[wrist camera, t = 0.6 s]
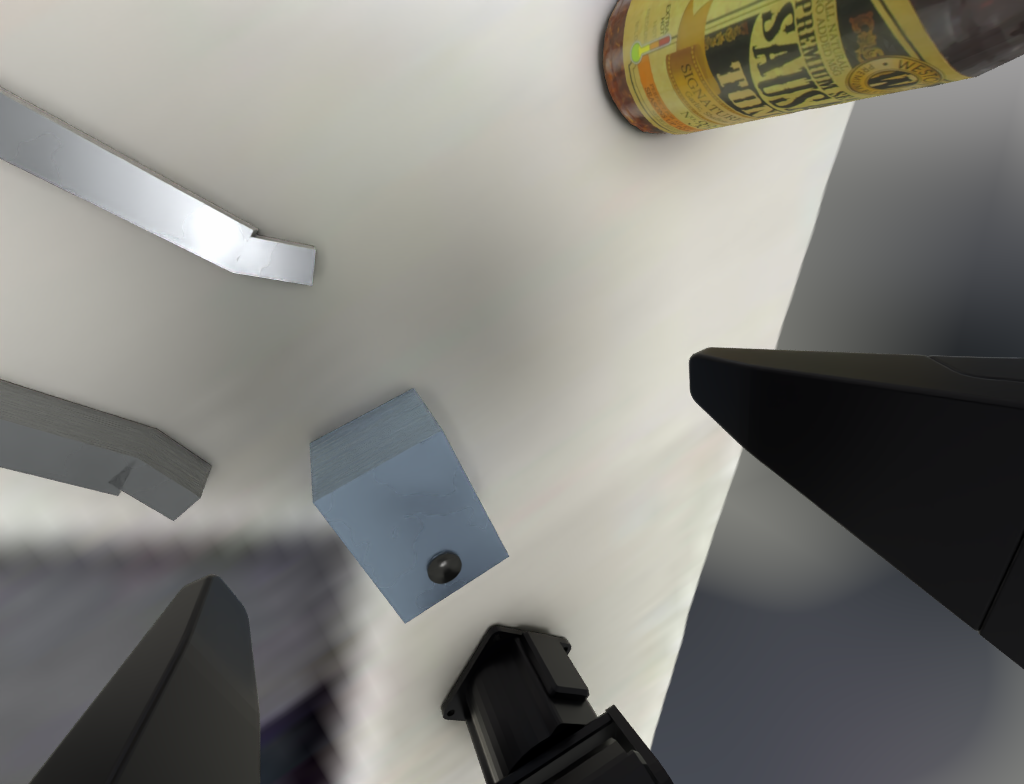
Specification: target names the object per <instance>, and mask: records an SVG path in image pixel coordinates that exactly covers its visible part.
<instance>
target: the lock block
mask: <svg viewBox="0 0 1024 784" xmlns="http://www.w3.org/2000/svg"><path fill="white" fill-rule="evenodd" d="M310 457H311V475H312V493H313V503H314V505H315V506H316V507H317V508H318V510H319V511H320V512H321V514H322V515H323V516H324V518H325V519H326V520H327V522H328V523H329V524H330V526H331V527H332V528H333V529H334V531H335V532H336V533H337V535H338V536H339V537H340V539H341V540H342V541H343V543H344V544H345V545H346V547H347V548H348V549H349V550H350V552H351V553H352V554H353V556H354V557H355V558H356V560H357V561H358V562H359V564H360V565H361V566H362V568H363V569H364V570H365V572H366V573H367V574H368V575H369V577H370V578H371V579H372V581H373V582H374V583H375V585H376V586H377V587H378V589H379V590H380V591H381V593H382V594H383V595H384V596H385V598H386V599H387V600H388V602H389V603H390V604H391V606H392V607H393V608H394V610H395V611H396V612H397V614H398V615H399V616H400V617H401V619H402V620H403V621H404V623H407V622H408V621H410V620H412V619H413V618H415V617H416V616H418V615H419V614H421V613H422V612H424V611H425V610H427V609H429V608H430V607H432V606H433V605H435V604H436V603H438V602H439V601H441V600H442V599H444V598H446V597H447V596H449V595H450V594H452V593H453V592H455V591H456V590H458V589H459V588H461V587H463V586H464V585H466V584H467V583H469V582H470V581H472V580H473V579H475V578H477V577H478V576H480V575H481V574H483V573H484V572H486V571H487V570H489V569H490V568H492V567H494V566H495V565H497V564H498V563H500V562H501V561H503V560H504V559H506V558H507V557H509V555H508V553H507V551H506V549H505V547H504V546H503V544H502V542H501V540H500V538H499V536H498V534H497V532H496V530H495V529H494V527H493V525H492V523H491V521H490V519H489V517H488V515H487V513H486V512H485V510H484V508H483V506H482V504H481V502H480V500H479V498H478V497H477V495H476V493H475V491H474V489H473V487H472V485H471V483H470V481H469V480H468V478H467V476H466V474H465V472H464V470H463V468H462V466H461V464H460V463H459V461H458V459H457V457H456V455H455V453H454V451H453V449H452V447H451V446H450V444H449V442H448V440H447V438H446V436H445V434H444V432H443V431H442V429H441V427H440V426H439V425H438V423H437V422H436V420H435V419H434V417H433V416H432V414H431V413H430V411H429V410H428V408H427V407H426V405H425V404H424V402H423V401H422V399H421V398H420V396H419V395H418V394H417V392H416V391H415V389H414V388H413V389H411V390H409V391H407V392H405V393H403V394H401V395H400V396H398V397H396V398H394V399H392V400H390V401H388V402H386V403H384V404H383V405H381V406H379V407H377V408H375V409H373V410H371V411H369V412H368V413H366V414H364V415H362V416H360V417H358V418H356V419H354V420H353V421H351V422H349V423H347V424H345V425H343V426H341V427H339V428H337V429H336V430H334V431H332V432H330V433H328V434H326V435H324V436H322V437H321V438H319V439H317V440H315V441H313V442H311V443H310Z"/></svg>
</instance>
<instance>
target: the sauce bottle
mask: <svg viewBox="0 0 1024 784" xmlns="http://www.w3.org/2000/svg"><path fill="white" fill-rule="evenodd" d="M1023 54H1024V0H618V1H617V4H616V6H615V8H614V10H613V12H612V14H611V16H610V18H609V21H608V27H607V30H606V32H605V39H604V48H603V69H604V73H605V80H606V83H607V86H608V90H609V93H610V95H611V97H612V99H613V101H614V102H615V104H616V105H617V107H618V109H619V110H620V112H621V113H622V115H623V116H624V117H625V118H626V119H627V120H628V121H629V123H630V124H631V125H633V126H637V128H638V129H640V130H641V131H642V132H649V133H671V134H688V133H693V132H698V131H703V130H708V129H713V128H718V127H724V126H729V125H734V124H739V123H744V122H749V121H754V120H759V119H764V118H769V117H775V116H780V115H785V114H791V113H795V112H798V111H803V110H808V109H815V108H821V107H826V106H831V105H837V104H842V103H847V102H851V101H855V100H860V99H865V98H870V97H875V96H880V95H886V94H891V93H895V92H901V91H907V90H912V89H917V88H923V87H931V86H936V85H940V84H944V83H949V82H954V81H958V80H963V79H968V78H972V77H977V76H979V75H981V74H983V73H985V72H987V71H989V70H992V69H994V68H996V67H998V66H1000V65H1002V64H1004V63H1006V62H1009V61H1010V60H1013V59H1015V58H1017V57H1019V56H1021V55H1023Z"/></svg>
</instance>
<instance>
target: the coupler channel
mask: <svg viewBox="0 0 1024 784" xmlns="http://www.w3.org/2000/svg"><path fill="white" fill-rule="evenodd" d="M0 158H1V159H3V160H5V161H7V162H9V163H11V164H13V165H15V166H17V167H19V168H21V169H23V170H25V171H27V172H29V173H31V174H33V175H35V176H37V177H39V178H41V179H43V180H45V181H47V182H49V183H51V184H53V185H55V186H57V187H59V188H61V189H64V190H66V191H68V192H70V193H72V194H74V195H76V196H78V197H80V198H82V199H84V200H86V201H88V202H90V203H92V204H94V205H96V206H98V207H100V208H102V209H104V210H106V211H108V212H110V213H112V214H114V215H116V216H118V217H120V218H122V219H124V220H126V221H128V222H131V223H133V224H135V225H137V226H139V227H141V228H143V229H145V230H147V231H149V232H151V233H153V234H155V235H157V236H159V237H161V238H163V239H165V240H167V241H169V242H171V243H173V244H175V245H177V246H179V247H181V248H183V249H185V250H187V251H189V252H191V253H193V254H196V255H198V256H200V257H202V258H204V259H206V260H208V261H210V262H212V263H214V264H216V265H218V266H220V267H222V268H224V269H226V270H228V271H230V272H231V273H237V274H243V275H249V276H255V277H261V278H267V279H274V280H280V281H286V282H292V283H298V284H304V285H310V286H312V284H313V274H314V264H315V254H316V249H315V247H314V246H311V245H306V244H301V243H296V242H291V241H286V240H281V239H276V238H271V237H266V236H261V235H256V234H257V232H258V230H259V229H258V228H256V227H255V226H253V225H251V224H249V223H247V222H246V221H244V220H242V219H240V218H238V217H236V216H235V215H233V214H231V213H229V212H227V211H226V210H224V209H222V208H220V207H218V206H216V205H215V204H213V203H211V202H209V201H207V200H206V199H204V198H202V197H200V196H198V195H196V194H195V193H193V192H191V191H189V190H187V189H186V188H184V187H182V186H180V185H178V184H176V183H175V182H173V181H171V180H169V179H167V178H166V177H164V176H162V175H160V174H158V173H156V172H155V171H153V170H151V169H149V168H147V167H145V166H144V165H142V164H140V163H138V162H136V161H135V160H133V159H131V158H129V157H127V156H125V155H124V154H122V153H120V152H118V151H116V150H115V149H113V148H111V147H109V146H107V145H105V144H104V143H102V142H100V141H98V140H96V139H95V138H93V137H91V136H89V135H87V134H85V133H84V132H82V131H80V130H78V129H76V128H75V127H73V126H71V125H69V124H67V123H65V122H64V121H62V120H60V119H58V118H56V117H55V116H53V115H51V114H49V113H47V112H45V111H44V110H42V109H40V108H38V107H36V106H35V105H33V104H31V103H29V102H27V101H25V100H24V99H22V98H20V97H18V96H16V95H15V94H13V93H11V92H9V91H7V90H5V89H4V88H2V87H0ZM0 467H2V468H6V469H10V470H14V471H18V472H22V473H26V474H31V475H35V476H39V477H43V478H47V479H51V480H55V481H59V482H63V483H67V484H71V485H75V486H80V487H84V488H88V489H92V490H96V491H100V492H104V493H108V494H112V495H116V496H119V494H120V492H121V491H123V492H125V493H127V494H128V495H130V496H132V497H134V498H135V499H137V500H139V501H140V502H142V503H144V504H145V505H147V506H149V507H151V508H152V509H154V510H156V511H157V512H159V513H161V514H163V515H164V516H166V517H168V518H169V519H171V520H173V521H174V520H175V519H177V518H178V517H179V516H180V515H181V514H182V513H184V512H185V511H186V510H187V509H188V508H189V507H190V506H192V505H193V504H194V503H195V502H196V501H197V500H198V499H200V498H201V495H202V492H203V489H204V486H205V483H206V480H207V478H208V475H209V472H210V469H211V465H209V464H208V463H206V462H205V461H203V460H202V459H201V458H199V457H198V456H196V455H195V454H193V453H192V452H190V451H189V450H187V449H186V448H184V447H183V446H181V445H180V444H178V443H177V442H176V441H174V440H173V439H171V438H170V437H168V436H167V435H165V434H164V433H162V432H161V431H159V430H158V429H155V428H152V427H149V426H146V425H143V424H139V423H136V422H133V421H130V420H127V419H124V418H120V417H117V416H114V415H111V414H108V413H104V412H101V411H98V410H95V409H92V408H89V407H85V406H82V405H79V404H76V403H73V402H70V401H66V400H63V399H60V398H57V397H54V396H50V395H47V394H44V393H41V392H38V391H35V390H31V389H28V388H25V387H22V386H19V385H16V384H12V383H9V382H6V381H3V380H0Z"/></svg>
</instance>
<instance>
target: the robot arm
mask: <svg viewBox="0 0 1024 784" xmlns="http://www.w3.org/2000/svg"><path fill="white" fill-rule="evenodd" d="M689 379H690V393H691V396H692V398H693V399H694V401H695V402H696V403H697V404H698V405H699V406H700V407H701V408H702V409H703V410H704V411H705V412H706V413H708V414H709V415H710V416H711V417H712V418H713V419H714V420H715V421H716V422H717V423H718V424H719V425H720V426H721V427H722V428H723V429H724V430H725V431H726V432H727V433H728V434H729V435H731V436H732V437H733V438H734V439H735V440H736V441H737V442H738V443H739V444H740V445H741V446H742V447H743V448H745V450H747V451H748V452H749V453H750V454H752V455H753V456H754V457H755V458H756V459H758V460H759V461H760V462H761V463H763V464H764V465H765V466H766V467H768V468H769V469H770V470H771V471H773V472H774V473H775V474H777V475H778V476H779V477H780V478H782V479H783V480H784V481H785V482H787V483H788V484H789V485H791V486H792V487H793V488H794V489H796V490H797V491H798V492H800V493H801V494H802V495H803V496H805V497H806V498H807V499H808V500H810V501H811V502H812V503H814V504H815V505H816V506H817V507H819V508H820V509H821V510H822V511H824V512H825V513H826V514H828V515H829V516H830V517H831V518H833V519H834V520H835V521H837V522H838V523H839V524H840V525H841V526H843V527H844V528H845V529H847V530H848V531H849V532H850V533H852V534H853V535H854V536H855V537H857V538H858V539H859V540H861V541H862V542H863V543H865V544H866V545H867V546H868V547H869V548H871V549H872V550H874V551H875V552H876V553H877V554H878V555H880V556H881V557H882V558H884V559H885V560H886V561H887V562H889V563H890V564H891V565H892V566H894V567H895V568H896V569H897V570H899V571H900V572H901V573H903V574H904V575H905V576H906V577H908V578H909V579H910V580H912V581H913V582H914V583H915V584H917V585H918V586H919V587H921V588H922V589H923V590H924V591H926V592H927V593H928V594H929V595H931V596H932V597H933V598H934V599H936V600H937V601H938V602H940V603H941V604H942V605H943V606H945V607H946V608H947V609H948V610H950V611H951V612H952V613H954V614H955V615H956V616H957V617H959V618H960V619H961V620H962V621H964V622H965V623H966V624H968V625H969V626H970V627H971V628H973V629H974V630H976V631H978V632H979V634H980V635H981V636H982V637H983V638H985V639H986V640H987V641H989V642H990V643H991V644H992V645H994V646H995V647H996V648H997V649H999V650H1000V651H1001V652H1003V653H1004V654H1005V655H1006V656H1008V657H1009V658H1010V659H1011V660H1013V661H1014V662H1015V663H1016V664H1018V665H1019V666H1020V667H1022V668H1023V669H1024V358H994V357H958V356H929V357H927V356H925V355H902V354H876V353H849V352H823V351H795V350H769V349H743V348H716V347H709V348H706V349H704V350H701V351H699V352H697V353H695V354H693V355H692V356H691V357H690V360H689ZM570 650H571V645H570V643H569V642H568V640H567V639H563V638H558V637H555V636H550V635H545V634H540V633H534V632H529V631H522V630H517V629H512V628H507V627H502V626H495V627H492V628H491V629H490V630H489V631H488V633H487V634H486V636H485V637H484V639H483V641H482V642H481V644H480V646H479V647H478V649H477V651H476V652H475V654H474V655H473V657H472V659H471V660H470V662H469V664H468V665H467V667H466V668H465V670H464V672H463V673H462V675H461V677H460V678H459V680H458V682H457V683H456V685H455V686H454V688H453V690H452V691H451V693H450V695H449V696H448V698H447V699H446V701H445V703H444V704H443V706H442V708H441V711H442V715H443V718H444V719H447V720H460V721H466V724H467V727H468V730H469V733H470V736H471V739H472V742H473V745H474V748H475V751H476V754H477V757H478V760H479V763H480V766H481V769H482V772H483V775H484V778H485V781H486V784H673V782H672V780H671V779H670V777H669V775H668V774H667V773H666V771H665V769H664V768H663V767H662V765H661V764H660V762H659V761H658V760H657V758H656V757H655V756H654V755H653V753H652V752H651V751H650V750H649V748H648V747H647V746H646V745H645V743H644V742H643V741H642V739H641V738H640V737H639V736H638V734H637V733H636V732H635V731H634V729H633V728H632V727H631V725H630V724H629V723H628V722H627V720H626V719H625V718H624V717H623V715H622V714H621V713H620V712H619V710H618V709H617V708H616V706H615V705H612V706H611V707H609V708H608V709H606V710H605V711H606V712H605V713H603V714H602V715H600V716H599V717H597V715H596V713H595V712H594V710H593V708H592V707H591V705H590V703H589V702H588V700H587V698H588V696H589V690H588V688H587V686H586V684H585V683H584V681H583V680H582V678H581V676H580V675H579V673H578V671H577V670H576V668H575V667H574V665H573V663H572V662H571V660H570V658H569V657H568V653H569V652H570ZM29 784H260V713H259V702H258V693H257V685H256V676H255V668H254V660H253V652H252V643H251V635H250V627H249V620H248V615H247V613H246V610H245V608H244V606H243V605H242V604H241V602H240V601H239V600H238V599H237V597H236V596H235V595H234V594H233V592H232V591H231V590H230V589H229V587H228V586H227V585H226V584H225V583H224V581H223V580H222V579H221V578H220V577H219V576H217V575H214V574H210V575H207V576H205V577H203V578H201V579H198V580H196V581H194V582H192V583H190V584H187V585H186V586H184V587H183V588H182V589H181V590H180V592H179V593H178V594H177V595H176V597H175V598H174V599H173V600H172V602H171V603H170V604H169V606H168V607H167V608H166V609H165V611H164V612H163V613H162V614H161V616H160V617H159V618H158V620H157V621H156V622H155V623H154V625H153V626H152V627H151V628H150V630H149V631H148V632H147V634H146V635H145V636H144V637H143V639H142V640H141V641H140V642H139V644H138V645H137V646H136V648H135V649H134V650H133V651H132V653H131V654H130V655H129V656H128V658H127V659H126V660H125V662H124V663H123V664H122V665H121V667H120V668H119V669H118V670H117V672H116V673H115V674H114V676H113V677H112V678H111V679H110V681H109V682H108V683H107V684H106V686H105V687H104V688H103V690H102V691H101V692H100V693H99V695H98V696H97V697H96V698H95V700H94V701H93V702H92V704H91V705H90V706H89V707H88V709H87V710H86V711H85V712H84V714H83V715H82V716H81V718H80V719H79V720H78V721H77V723H76V724H75V725H74V726H73V728H72V729H71V730H70V732H69V733H68V734H67V735H66V737H65V738H64V739H63V740H62V742H61V743H60V744H59V746H58V747H57V748H56V749H55V751H54V752H53V753H52V754H51V756H50V757H49V758H48V760H47V761H46V762H45V763H44V765H43V766H42V767H41V768H40V770H39V771H38V772H37V774H36V775H35V776H34V777H33V779H32V780H31V781H30V782H29Z"/></svg>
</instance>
